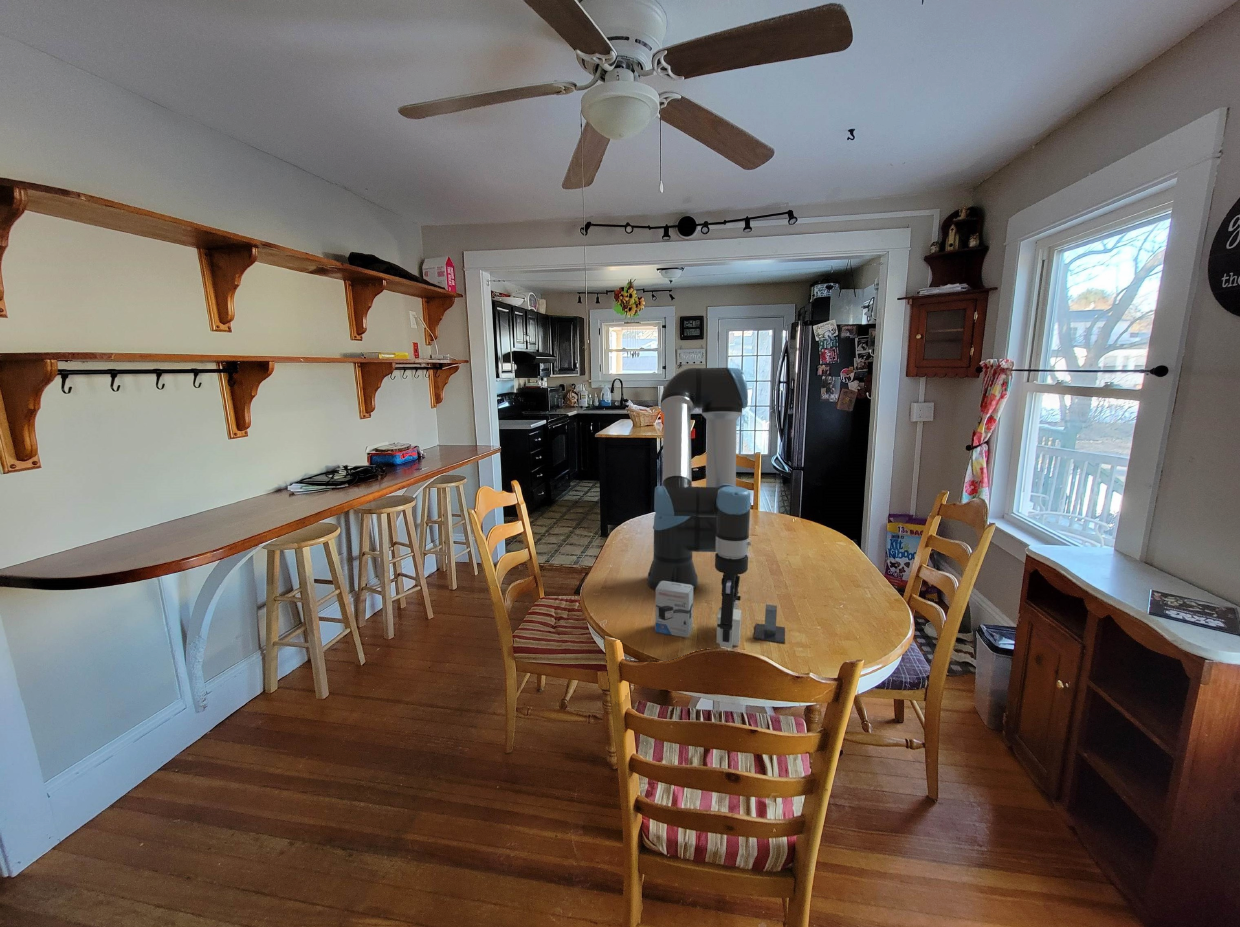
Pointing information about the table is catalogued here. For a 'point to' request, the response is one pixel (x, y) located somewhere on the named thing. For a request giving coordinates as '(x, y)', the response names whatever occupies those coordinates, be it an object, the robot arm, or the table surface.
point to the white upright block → (736, 626)
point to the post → (770, 627)
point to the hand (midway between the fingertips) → (728, 638)
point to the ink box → (674, 608)
